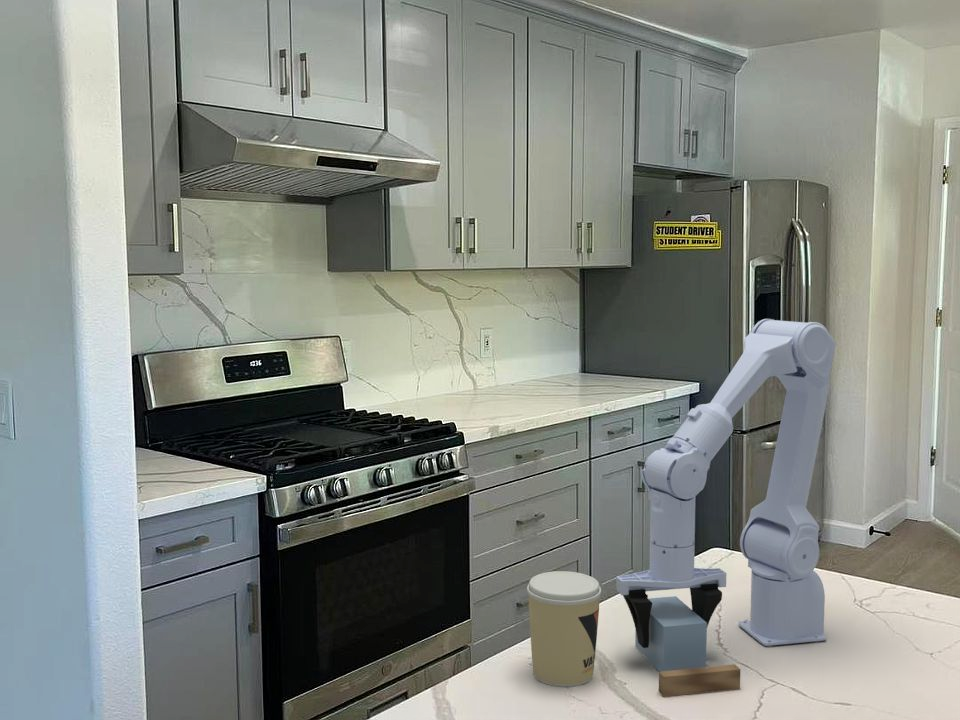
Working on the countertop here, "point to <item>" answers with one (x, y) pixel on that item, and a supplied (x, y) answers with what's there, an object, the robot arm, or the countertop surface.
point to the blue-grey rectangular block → (674, 636)
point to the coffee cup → (563, 627)
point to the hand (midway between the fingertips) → (670, 642)
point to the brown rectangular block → (699, 680)
